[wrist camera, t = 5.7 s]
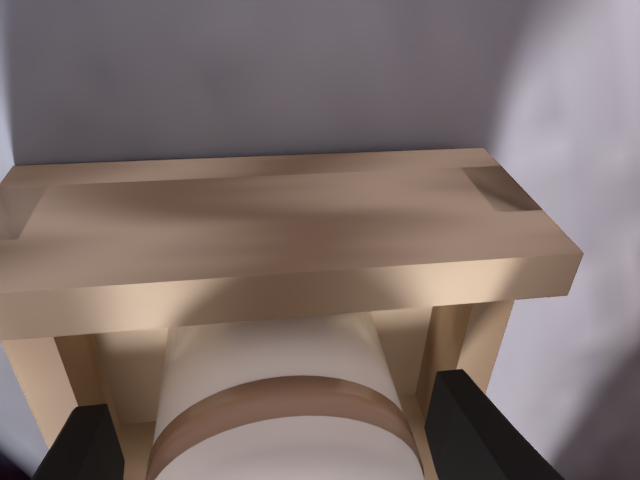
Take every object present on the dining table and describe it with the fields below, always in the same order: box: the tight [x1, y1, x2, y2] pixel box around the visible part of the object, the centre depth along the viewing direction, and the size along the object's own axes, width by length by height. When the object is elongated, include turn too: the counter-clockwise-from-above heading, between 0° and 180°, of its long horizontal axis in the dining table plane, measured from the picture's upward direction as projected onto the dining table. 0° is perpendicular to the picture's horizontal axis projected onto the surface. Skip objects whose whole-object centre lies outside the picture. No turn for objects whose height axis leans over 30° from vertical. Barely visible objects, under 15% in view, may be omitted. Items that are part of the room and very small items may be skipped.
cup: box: [145, 311, 425, 480], centre depth 12 cm, size 5×5×6 cm
